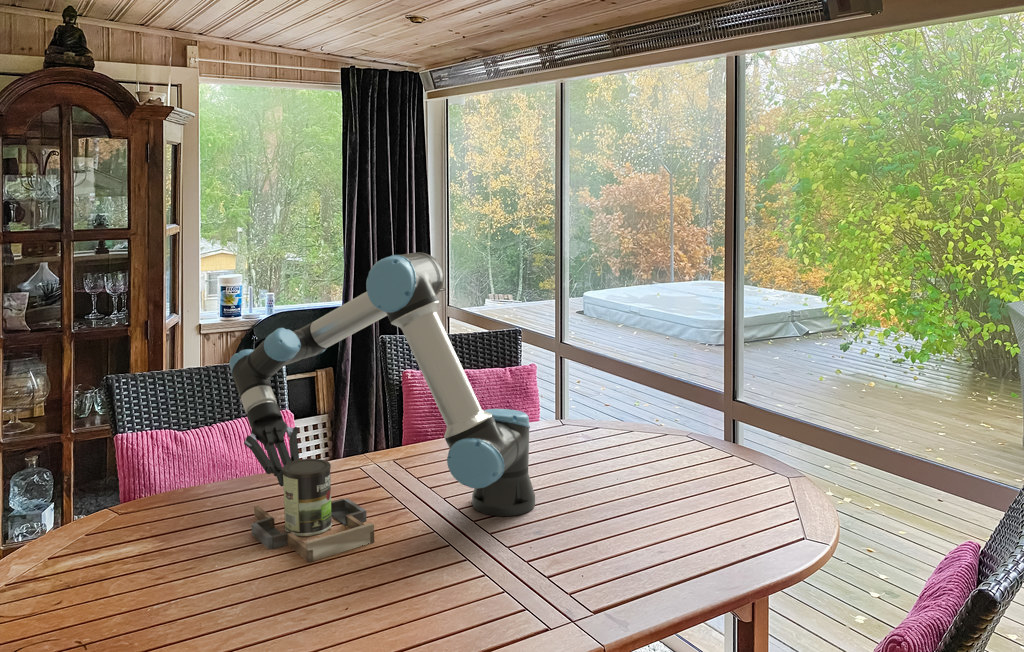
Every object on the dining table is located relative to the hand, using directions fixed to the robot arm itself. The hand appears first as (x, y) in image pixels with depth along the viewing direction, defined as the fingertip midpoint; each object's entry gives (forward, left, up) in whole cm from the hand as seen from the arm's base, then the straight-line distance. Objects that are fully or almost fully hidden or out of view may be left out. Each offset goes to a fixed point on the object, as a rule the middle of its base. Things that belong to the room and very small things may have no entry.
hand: (293, 496), depth 176 cm
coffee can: (-5, +4, -5) cm, 8 cm away
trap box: (-6, +4, -5) cm, 9 cm away
